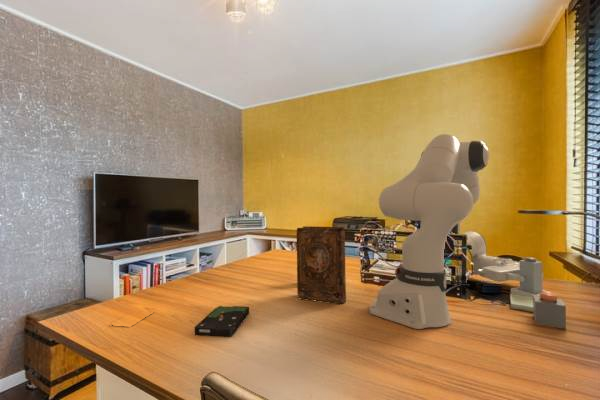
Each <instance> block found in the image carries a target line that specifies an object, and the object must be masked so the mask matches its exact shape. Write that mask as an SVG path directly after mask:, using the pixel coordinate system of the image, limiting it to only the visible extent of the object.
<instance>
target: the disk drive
mask: <svg viewBox="0 0 600 400" xmlns="http://www.w3.org/2000/svg"><path fill="white" fill-rule="evenodd" d="M248 314H249V315H250V307H249V306H238V305H237V306H235V305H233V306H222V305H219V306H216V308H214V309H212V311H211V312H210V313H208V314H207V315H206V316H205V317H204V318H203V319H202V320H201V321H200V322H198V323H197V324H196V325H195V326H194V336H196V335H198V336H201V337H219V338H220V337H221V338H232V337H233V336H234V334H236V332H237V330H238V329H239V328H240V326H241V325H242V324H243V322H244V321H245V320H246V319H247V318H246V316H247V315H248ZM249 315H248V316H249ZM248 316H247V317H248ZM245 318H246V319H245ZM244 319H245V320H244ZM243 320H244V321H243ZM241 323H242V324H241Z"/></svg>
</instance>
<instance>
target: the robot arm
mask: <svg viewBox="0 0 600 400" xmlns="http://www.w3.org/2000/svg"><path fill="white" fill-rule="evenodd" d="M489 160H490V150H489V148H488V146H487V144H486V143H485V142H483V141H482V140H471V141H461V142H459V140H458V139H457V138H456V137H455V136H453V135H451V134H447V133H446V134H445V133H443V134H438V135H437V136H435V137H434V138H432V139H431V141H430V142H428V144H427V145H426V147H425V149H424V150H423V151H422V153H421V154H420V157H419V160H418V162H417V164H416V165H415V167H414V168H413V170H412V171H410V172H409V173H408V174H407V175H406V176H405V177H402V179H399V180H398V181H397V182H395V183H393V184H391V185H390V186H386V187H385V188H383V189H382V190H381V192H380V195H379V198H378V206H379V210H380V211H381V213H382V214H383V215H384V216H385V217H388V218H392V219H396V220H399V221H400V220H401V221H419V222H421V224H420V228H419V230H418V231H415V232H413V233H411V234H409V235H407V236H406V237H405V238H404V240H403V241H402V245H401V249H402V250H401V251H402V254H401V256H402V262H401V263H400V264H398V265H397V267H396V268H395V270H394V275H395V276H396V278H394V279H392V280H391V281H389V282H388V283H386V284H385V285H383V286H382V287H380V289H379V290H378V293H377V297H376V299H375V300H374V301H372V303H371V304H370V305H369V307H368V308H369V310H368V312H369V313H370V314H371V315H374V316H377V317H379V318H383V319H385V320H388V321H391V322H394V323H398V324H399V325H400V324H401V325H403V326H407V327H410V328H412V329H415V330H416V329H417V330H421V329H422V330H423V329H426V328H443V327H446V326H448V325H450V324H451V323H452V317H451V314H450V311H449V307H448V302H447V297H446V290H447V274H446V273H447V271H446V269H445V259H444V249H445V242H446V239H447V236H448V234H449V233H450V231H451V232H453V233H455V234H460V235H461V222H462V221H464V220H465V219H466V218H467V217H469V215H470V214H471V212H472V210H473V206H474V205H475V204H476V203H477V202H478V200H479V199H480V198H479V197H480V195H481V194H480V192H481V185H480V178H479V173H478V172H479V171H481V170H484V168H486V167H487V166H488V162H489ZM462 234H466V235H467V236H468V240H467V243H468V244H470V245H471V246H472V249H471V254H472V258H473V263H474V272H473V274H472V275H474V276H475V275H476V276H480V277H482V278H485V279H488V280H490V281H495V282H507V281H517V282H520V281H521V282H523V281H525V280H526V279H525V276H522V275H520V270H519V261H517V260H513V259H512V258H507V257H497V256H492V255H488V254H487V244H486V239H485V238H484V236H483V235H481V233H478V232H476V231H474V230H468V231H466V232H464V233H462ZM544 276H545V275H544V273H543V272H542V279H543V278H544Z"/></svg>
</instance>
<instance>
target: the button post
mask: <svg viewBox="0 0 600 400" xmlns="http://www.w3.org/2000/svg"><path fill="white" fill-rule="evenodd" d="M566 309H567V307H566V304H565V303H564V301H563V300H562V298H558V297H557V301H554V302H547V301H543V299H541V298H540V296H538V295H533V312H532V313H533V315H532V316H533V319H534V322H535V324H537V325H544V326H548V327H553V328H558V329H564V330H567V313H566V312H567V310H566Z"/></svg>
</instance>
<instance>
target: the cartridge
mask: <svg viewBox="0 0 600 400" xmlns="http://www.w3.org/2000/svg"><path fill="white" fill-rule="evenodd" d="M518 262H519V270H520V275H522V276H525V279H526V280H525V281H523V282H521V281H519V287H520V290H521V291H524V292H528V293H531V294H535V295H536V294H540V292H542V290H543V278H542V273H543V261H538V260H537V258H535V257H529V256H527V257H524V259H520V260H519V261H518Z"/></svg>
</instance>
